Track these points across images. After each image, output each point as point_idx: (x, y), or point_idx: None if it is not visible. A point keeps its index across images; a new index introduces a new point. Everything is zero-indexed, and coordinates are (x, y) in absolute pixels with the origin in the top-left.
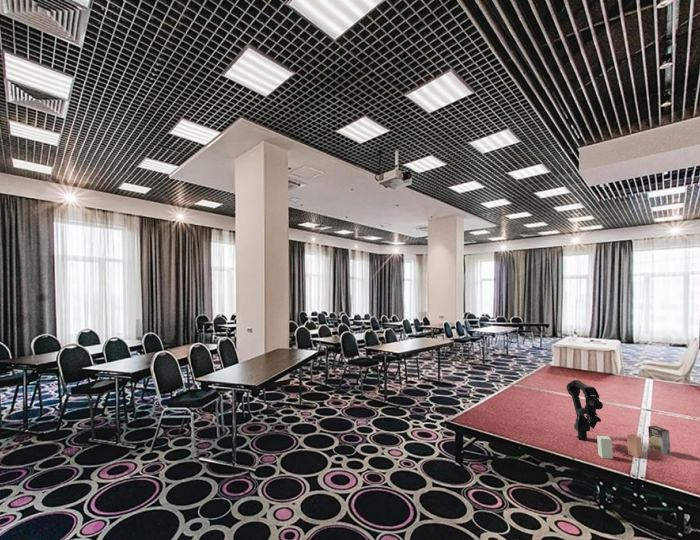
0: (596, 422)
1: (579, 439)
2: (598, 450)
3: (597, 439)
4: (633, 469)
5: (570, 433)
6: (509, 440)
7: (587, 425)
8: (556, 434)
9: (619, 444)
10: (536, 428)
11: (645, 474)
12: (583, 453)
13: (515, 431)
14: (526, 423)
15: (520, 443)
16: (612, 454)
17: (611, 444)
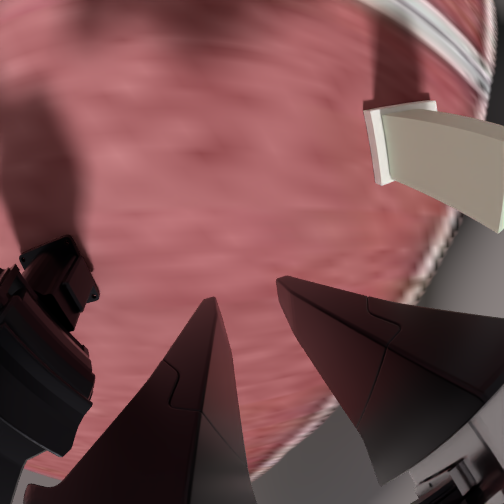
0: (435, 324)
1: (99, 293)
2: (415, 186)
3: (475, 217)
4: (448, 52)
5: None
6: (308, 434)
7: (29, 330)
8: (113, 386)
9: (24, 35)
10: None
11: (462, 33)
12: (361, 251)
13: None
14: (85, 444)
15: (323, 418)
16: (439, 112)
17: (495, 126)
